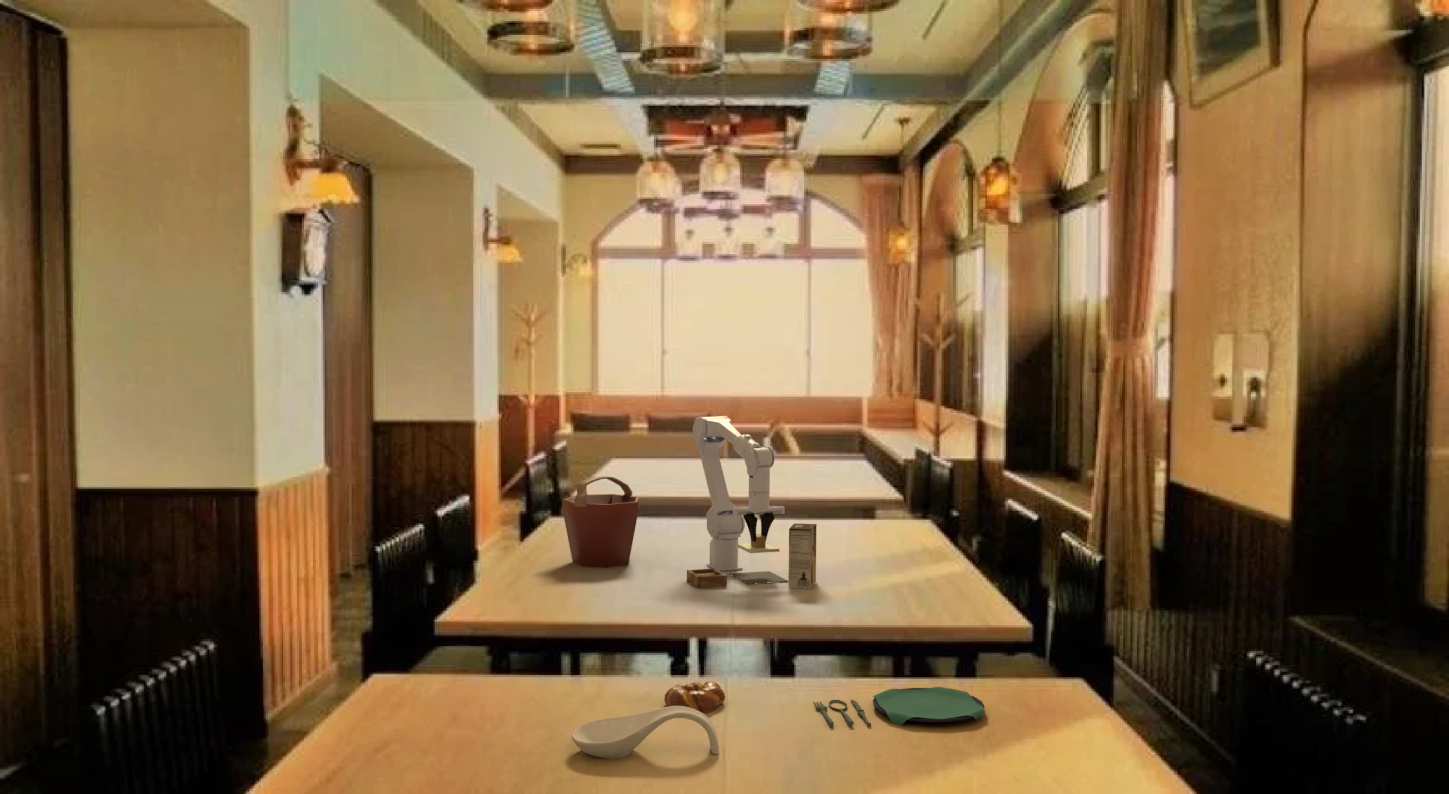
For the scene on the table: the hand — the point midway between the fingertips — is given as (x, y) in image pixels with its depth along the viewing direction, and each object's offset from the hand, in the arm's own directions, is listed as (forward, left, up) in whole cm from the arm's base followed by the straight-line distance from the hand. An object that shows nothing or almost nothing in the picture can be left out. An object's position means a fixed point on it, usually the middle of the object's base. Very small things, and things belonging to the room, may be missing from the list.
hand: (758, 540), depth 335 cm
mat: (0, 0, -10) cm, 10 cm away
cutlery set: (+118, -18, -11) cm, 119 cm away
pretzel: (+102, -51, -11) cm, 115 cm away
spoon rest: (+124, -67, -11) cm, 141 cm away
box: (+3, -16, -10) cm, 19 cm away
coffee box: (+12, +8, -11) cm, 18 cm away
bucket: (-35, -36, -11) cm, 51 cm away
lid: (0, 0, -2) cm, 2 cm away
